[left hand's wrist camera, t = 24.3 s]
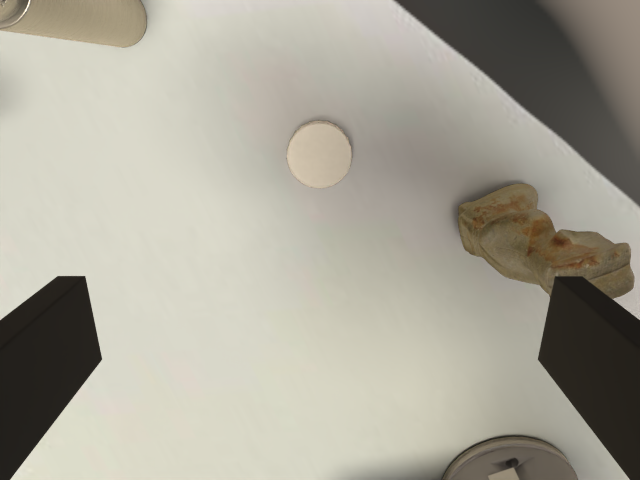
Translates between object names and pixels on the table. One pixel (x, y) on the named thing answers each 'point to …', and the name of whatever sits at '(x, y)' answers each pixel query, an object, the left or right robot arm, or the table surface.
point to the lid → (319, 154)
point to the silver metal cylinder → (77, 20)
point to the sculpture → (540, 243)
